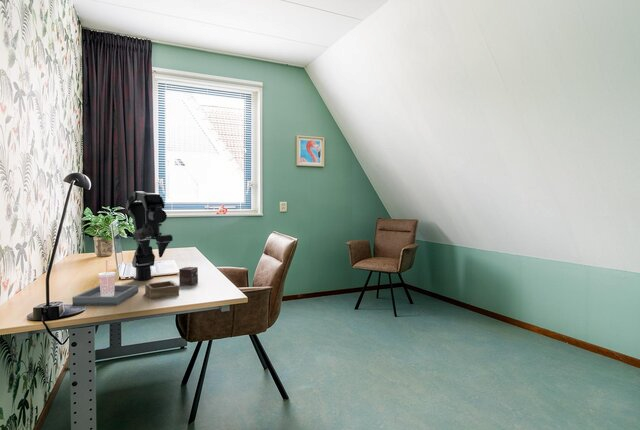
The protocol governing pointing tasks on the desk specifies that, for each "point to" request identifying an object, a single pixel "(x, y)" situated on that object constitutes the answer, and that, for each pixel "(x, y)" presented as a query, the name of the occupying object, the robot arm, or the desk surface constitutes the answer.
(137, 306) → the desk surface
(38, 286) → the desk surface
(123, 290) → the charcoal tray
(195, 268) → the box
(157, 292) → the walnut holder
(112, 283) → the beverage cup
